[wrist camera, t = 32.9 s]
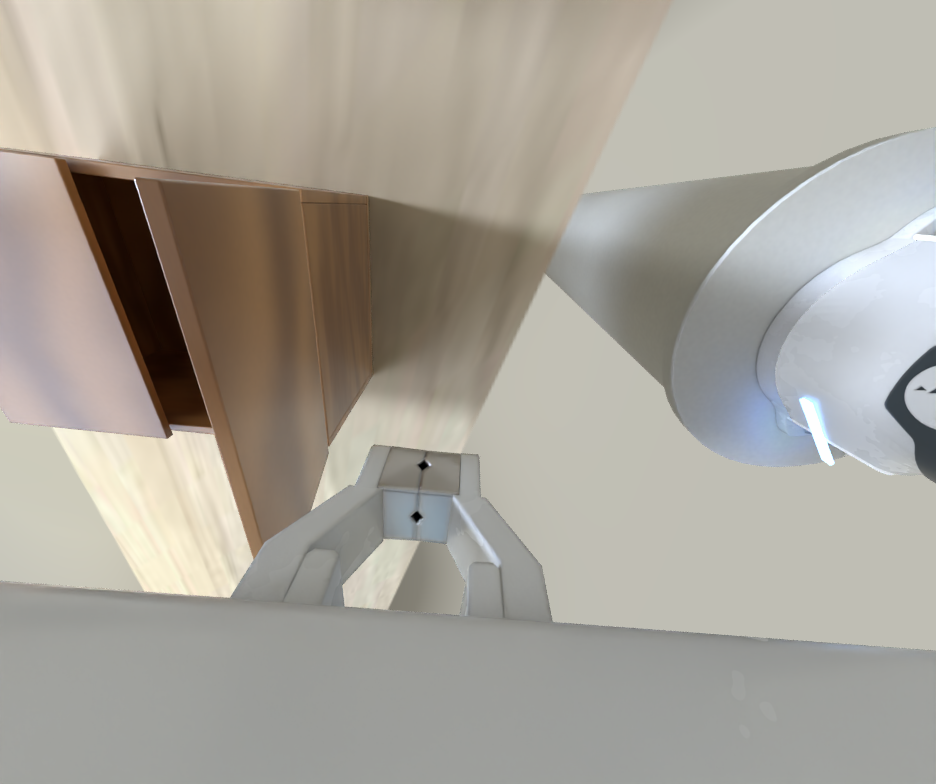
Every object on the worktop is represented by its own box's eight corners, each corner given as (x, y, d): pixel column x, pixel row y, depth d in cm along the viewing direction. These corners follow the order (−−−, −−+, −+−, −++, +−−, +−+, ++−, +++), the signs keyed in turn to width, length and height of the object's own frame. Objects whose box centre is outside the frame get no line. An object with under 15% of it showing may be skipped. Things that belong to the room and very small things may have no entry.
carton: (368, 195, 22) (291, 187, 12) (373, 375, 28) (324, 455, 19) (95, 159, 21) (-194, 122, 12) (163, 351, 27) (8, 423, 18)
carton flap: (288, 188, 13) (299, 190, 13) (321, 453, 19) (328, 453, 19) (131, 176, 5) (159, 179, 6) (268, 609, 12) (280, 608, 12)
